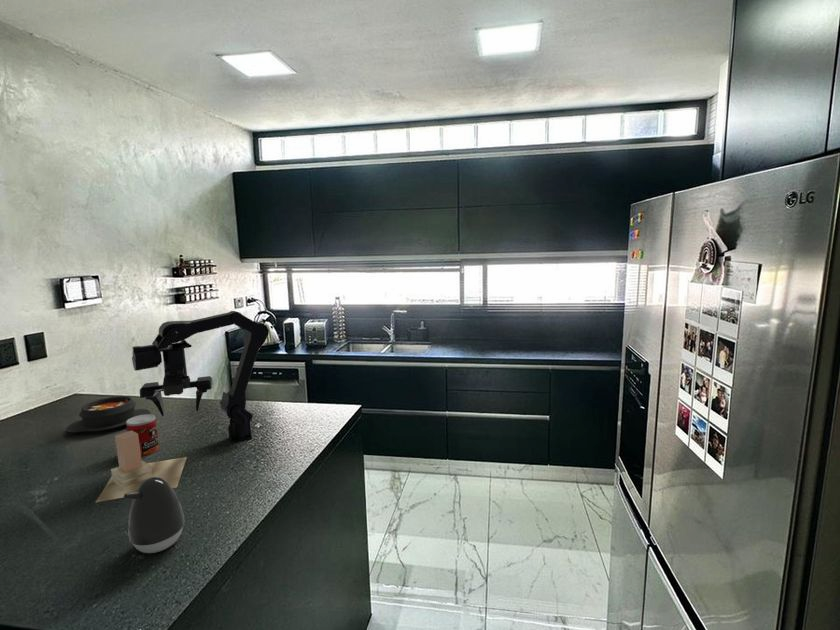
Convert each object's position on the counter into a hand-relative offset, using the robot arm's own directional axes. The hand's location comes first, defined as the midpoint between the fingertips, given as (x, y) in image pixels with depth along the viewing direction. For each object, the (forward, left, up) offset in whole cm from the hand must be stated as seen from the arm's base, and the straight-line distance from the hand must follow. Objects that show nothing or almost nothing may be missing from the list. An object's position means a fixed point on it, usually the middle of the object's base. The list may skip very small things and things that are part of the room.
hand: (180, 413), depth 133 cm
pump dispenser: (-1, +45, -13) cm, 47 cm away
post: (+11, +13, -9) cm, 19 cm away
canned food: (+12, -6, -13) cm, 19 cm away
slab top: (+11, +13, -11) cm, 20 cm away
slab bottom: (+11, +13, -12) cm, 21 cm away
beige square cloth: (+8, +13, -13) cm, 20 cm away
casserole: (+29, -36, -13) cm, 48 cm away
